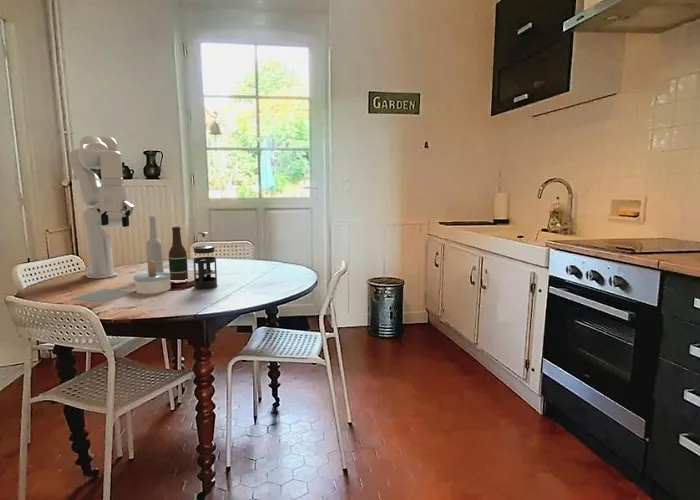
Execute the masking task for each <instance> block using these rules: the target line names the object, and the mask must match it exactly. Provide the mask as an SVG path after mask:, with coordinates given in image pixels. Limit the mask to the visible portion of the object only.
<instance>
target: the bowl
mask: <svg viewBox="0 0 700 500" xmlns="http://www.w3.org/2000/svg"><path fill="white" fill-rule="evenodd" d="M134 284H135V291H136V293H137V294H141V295H155V294H160V293H165V292H168V291H169V290H170V289H172V288H171V287H172V286H171V285H172V283H171V282H170V278H168V279H165V280H160V281H151V282H139V281H135V280H134Z"/></svg>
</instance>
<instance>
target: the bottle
mask: <svg viewBox="0 0 700 500" xmlns="http://www.w3.org/2000/svg"><path fill="white" fill-rule="evenodd" d="M148 219H149V238H148V240H147V241H146V243H145V246H146V260H147V261H152V260H154V261H155V267H156V272H163V273H165V272H164V259H163V258H164V257H163V246H162V245H163V244H162V243H163V242H162V241H161V240H160V238H158V235H157V223H156V215H149V216H148Z"/></svg>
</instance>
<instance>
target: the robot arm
mask: <svg viewBox="0 0 700 500" xmlns="http://www.w3.org/2000/svg"><path fill="white" fill-rule="evenodd" d="M79 147H80V148H74V149H72V150H70V152H69V154H68V158H69V164H70V168H71V170H72V171H73V174H74V175H75V177H76V178H77V181H78V183H79V187H80V191H81V192H80V193H81V197H82V201H83V204H84V205H85V206H86V207H88V208H86V209H85V210H84V211H83V212H82V221H83V224H84V226H85V231H86V232H85V233H86V239H87V242H86V243H87V248H88V249H87V251H88V261H89V265H88V266H86V267H85V268H84V270H83V271H84V272H88V273H87V274H86V278H88V279H106V278H112V277H115V276H118V274H119V273H118V271H116V270H114V260H113V248H112V247H113V246H112V238H111V235H110V234H109V233H108V232H107V231H106V229H111V228H113V229H114V228H121V227H123V228H126V227H130V217H131V214H132V213H133V210H134V207H135V206H134V205H133V204H131V203H130V202H128V196H127V192H126V188H125V186H124V176H123V173H124V172H123V158H122V153H121V152H120V151H119V150H118V143H117V141H116V139H115V138H114V137H112V136H110V135H109V136H108V135H94V134H93V135H92V134H89V135H85V136H83V137H82V138H81V139H80V142H79ZM93 170H100V176H101V177H99V176H98V175H97V173H95V171H93ZM100 178H101V179H100Z"/></svg>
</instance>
